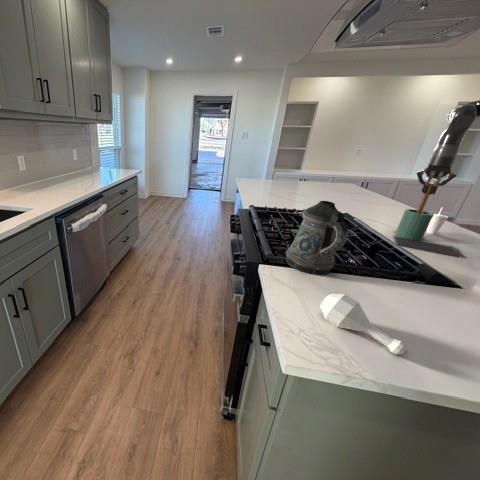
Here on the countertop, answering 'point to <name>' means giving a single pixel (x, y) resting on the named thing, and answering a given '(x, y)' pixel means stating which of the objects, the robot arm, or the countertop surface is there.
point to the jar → (413, 224)
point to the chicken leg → (355, 320)
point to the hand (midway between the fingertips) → (427, 193)
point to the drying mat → (426, 246)
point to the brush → (424, 198)
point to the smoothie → (436, 222)
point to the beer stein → (318, 239)
